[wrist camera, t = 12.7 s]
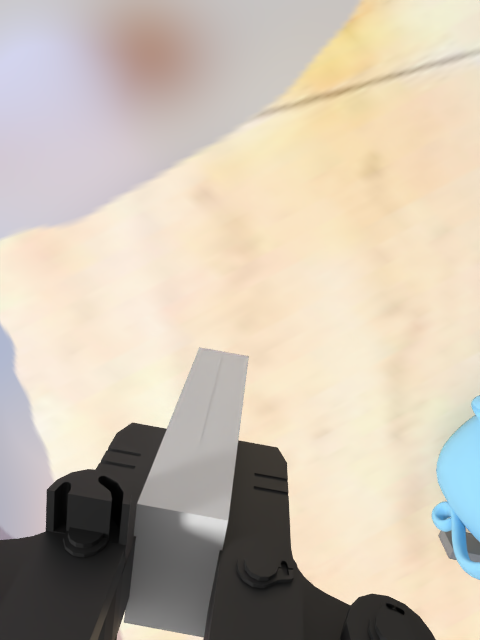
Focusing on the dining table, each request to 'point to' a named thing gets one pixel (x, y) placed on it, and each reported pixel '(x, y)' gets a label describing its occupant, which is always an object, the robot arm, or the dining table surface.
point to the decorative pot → (461, 488)
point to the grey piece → (474, 547)
